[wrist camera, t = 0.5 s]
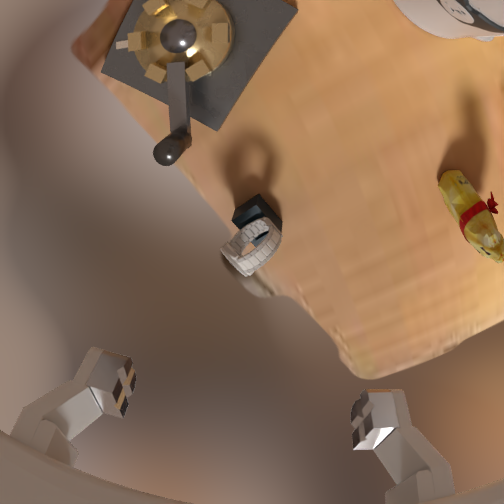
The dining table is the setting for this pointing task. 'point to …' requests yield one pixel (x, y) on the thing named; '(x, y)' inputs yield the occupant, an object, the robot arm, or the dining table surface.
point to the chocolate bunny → (472, 215)
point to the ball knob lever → (180, 57)
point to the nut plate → (223, 78)
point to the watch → (253, 236)
